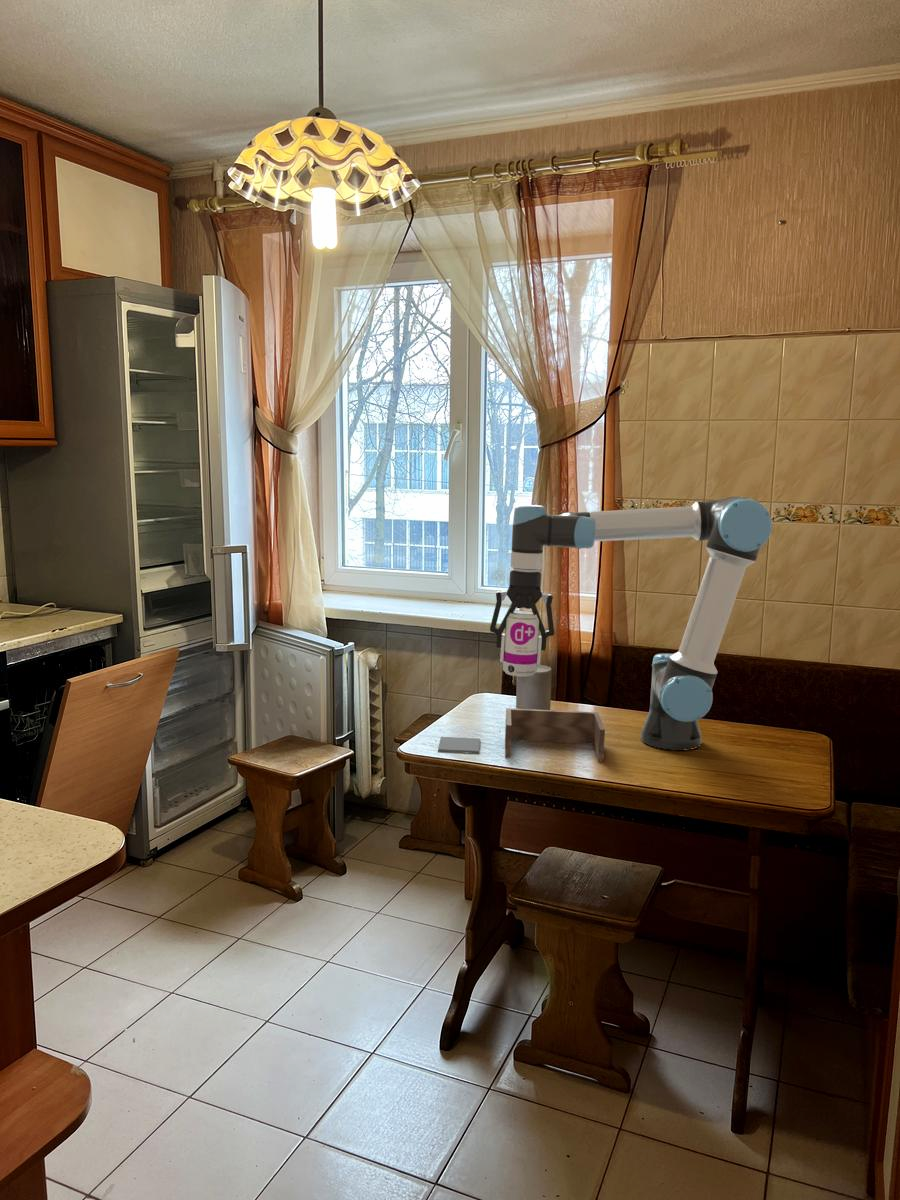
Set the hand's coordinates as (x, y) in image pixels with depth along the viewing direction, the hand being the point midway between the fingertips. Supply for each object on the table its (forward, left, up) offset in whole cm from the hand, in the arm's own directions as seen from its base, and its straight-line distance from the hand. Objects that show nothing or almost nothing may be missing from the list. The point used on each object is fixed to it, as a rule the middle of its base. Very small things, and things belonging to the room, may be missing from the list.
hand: (519, 662), depth 218 cm
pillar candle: (-5, -31, -22) cm, 38 cm away
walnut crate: (-9, -1, -22) cm, 24 cm away
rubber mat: (+14, 0, -22) cm, 26 cm away
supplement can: (0, 0, -3) cm, 3 cm away
